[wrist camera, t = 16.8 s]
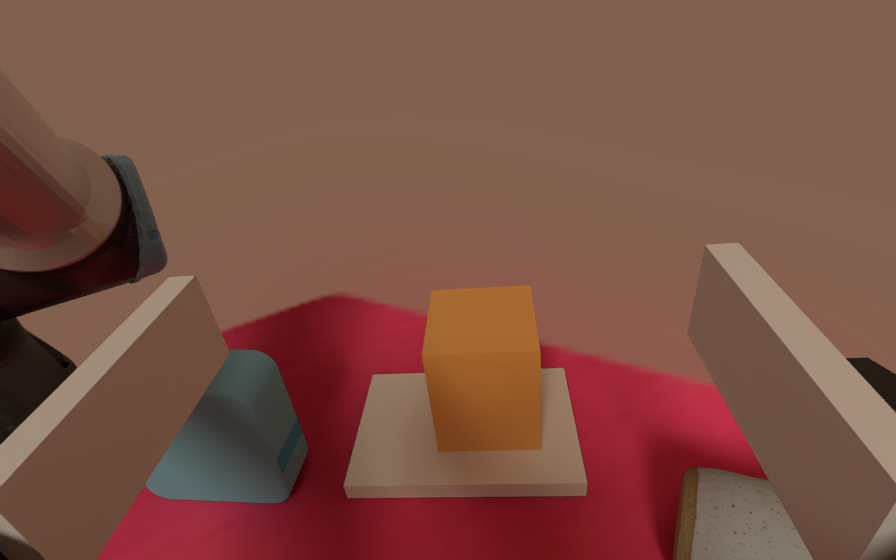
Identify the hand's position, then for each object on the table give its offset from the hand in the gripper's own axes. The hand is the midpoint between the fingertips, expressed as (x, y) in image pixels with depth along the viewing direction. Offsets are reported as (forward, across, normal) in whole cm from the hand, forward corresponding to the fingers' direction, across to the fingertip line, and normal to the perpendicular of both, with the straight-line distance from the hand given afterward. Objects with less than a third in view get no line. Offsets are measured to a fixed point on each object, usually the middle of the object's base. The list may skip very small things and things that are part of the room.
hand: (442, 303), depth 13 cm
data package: (+14, -21, -26) cm, 36 cm away
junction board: (+18, -2, -26) cm, 32 cm away
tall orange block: (+19, 0, -24) cm, 31 cm away
